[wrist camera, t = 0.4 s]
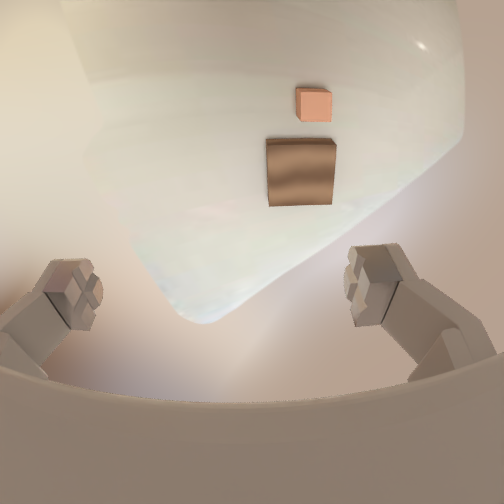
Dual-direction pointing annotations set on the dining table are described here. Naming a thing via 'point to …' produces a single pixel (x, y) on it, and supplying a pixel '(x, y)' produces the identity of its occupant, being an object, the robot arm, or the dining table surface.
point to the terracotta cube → (313, 105)
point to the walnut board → (300, 171)
